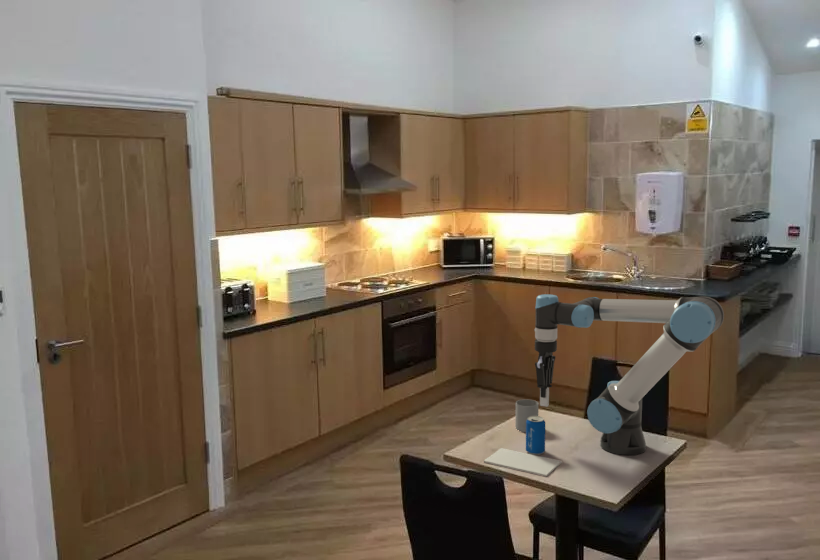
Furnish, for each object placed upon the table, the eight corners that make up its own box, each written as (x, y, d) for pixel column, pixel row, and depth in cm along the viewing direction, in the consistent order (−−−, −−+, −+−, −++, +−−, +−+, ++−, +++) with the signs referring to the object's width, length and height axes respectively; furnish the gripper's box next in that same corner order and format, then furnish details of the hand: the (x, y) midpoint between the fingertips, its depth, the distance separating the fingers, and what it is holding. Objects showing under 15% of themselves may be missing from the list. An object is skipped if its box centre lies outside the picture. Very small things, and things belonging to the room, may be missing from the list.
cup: (539, 432, 264) (539, 406, 262) (517, 432, 264) (517, 406, 262) (536, 424, 272) (536, 399, 271) (514, 424, 272) (514, 399, 271)
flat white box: (561, 462, 236) (561, 461, 236) (546, 476, 225) (546, 474, 225) (501, 449, 247) (501, 447, 247) (483, 462, 237) (483, 460, 237)
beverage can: (522, 452, 245) (522, 418, 243) (532, 447, 249) (532, 414, 248) (538, 457, 240) (539, 423, 239) (548, 451, 245) (549, 418, 243)
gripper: (543, 334, 254) (541, 398, 257) (528, 341, 243) (526, 408, 246) (563, 337, 250) (561, 402, 253) (548, 344, 239) (547, 412, 242)
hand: (544, 405), depth 250 cm, fingers closed
